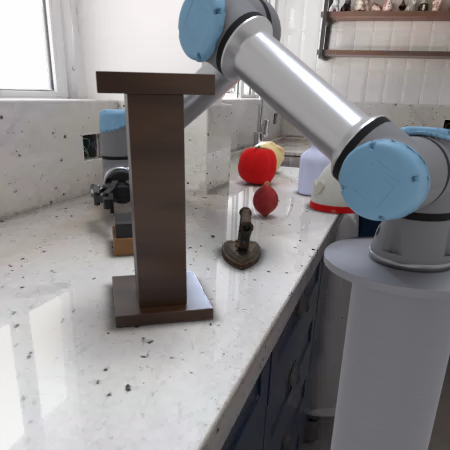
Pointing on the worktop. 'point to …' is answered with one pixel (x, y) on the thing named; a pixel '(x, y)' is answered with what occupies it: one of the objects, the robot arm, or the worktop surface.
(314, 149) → the soap bottle
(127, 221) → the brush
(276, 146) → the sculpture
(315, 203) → the kitchen timer
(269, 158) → the tomato
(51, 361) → the worktop surface
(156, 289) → the stand
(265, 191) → the onion
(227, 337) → the worktop surface
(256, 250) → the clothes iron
